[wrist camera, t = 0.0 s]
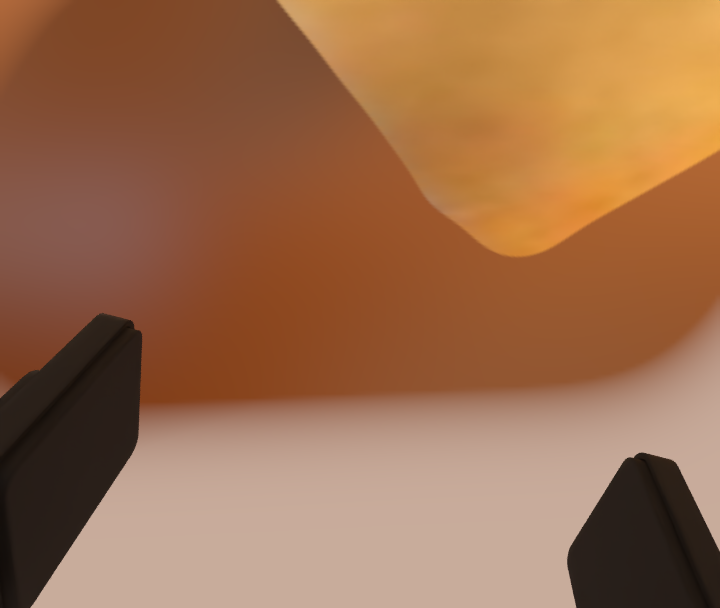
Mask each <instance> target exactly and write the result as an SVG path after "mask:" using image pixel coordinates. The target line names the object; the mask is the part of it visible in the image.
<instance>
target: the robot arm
mask: <svg viewBox="0 0 720 608" xmlns="http://www.w3.org/2000/svg"><path fill="white" fill-rule="evenodd" d="M141 350H142V334H141V332H140V331H138V330H135V329H134V324H133V322H132V321H131V320H127V319H123V318H119V317H115V316H111V315H107V314H104V313H102V314H99V315H97V316H96V317H95V318H94V319H93V320H92V321H91V322H90V323H89V324H88V325H87V326H86V327H85V328H83V329H82V330H81V331H80V332H79V333H78V334H77V335H76V336H75V337H74V338H73V339H72V340H71V341H70V342H69V343H68V344H67V345H66V346H65V347H64V348H63V349H62V350H61V351H60V352H58V353H57V354H56V356H54V357H53V358H52V359H51V360H50V361H49V362H48V363H47V364H46V365H45V366H44V367H43V368H42V369H41V370H40V371H39V370H35V371H31V372H29V373H28V374H26V375H25V376H24V377H22V379H20V381H18V382H17V383H16V384H15V385H14V386H13V387H12V388H11V389H10V390H9V391H8V392H7V393H6V394H4V395H3V396H2V397H1V398H0V608H30V607H31V606H32V605H33V603H34V602H35V600H36V599H37V597H38V596H39V594H40V593H41V591H42V590H43V588H44V587H45V585H46V584H47V582H48V581H49V579H50V578H51V576H52V574H53V573H54V571H55V570H56V568H57V567H58V565H59V564H60V562H61V561H62V559H63V558H64V556H65V555H66V553H67V552H68V550H69V549H70V547H71V546H72V544H73V542H74V541H75V540H76V538H77V536H78V535H79V534H80V532H81V531H82V529H83V528H84V526H85V525H86V523H87V521H88V520H89V518H90V517H91V515H92V514H93V512H94V511H95V509H96V508H97V506H98V505H99V503H100V502H101V500H102V499H103V497H104V496H105V494H106V493H107V491H108V490H109V488H110V487H111V485H112V483H113V482H114V481H115V479H116V477H117V476H118V474H119V473H120V471H121V470H122V468H123V467H124V465H125V464H126V462H127V461H128V459H129V458H130V456H131V455H132V453H133V451H134V449H135V446H136V443H137V440H138V430H139V404H140V403H139V402H140V378H141V353H142V351H141ZM567 565H568V570H569V575H570V579H571V585H572V589H573V594H574V599H575V603H576V608H720V551H719V549H718V547H717V545H716V543H715V541H714V539H713V537H712V535H711V533H710V531H709V529H708V527H707V525H706V523H705V521H704V519H703V517H702V515H701V513H700V510H699V508H698V506H697V504H696V502H695V500H694V498H693V496H692V494H691V492H690V490H689V488H688V486H687V484H686V482H685V480H684V478H683V476H682V474H681V472H680V470H679V467H678V466H677V464H676V463H675V462H674V461H672V460H670V459H666V458H662V457H658V456H654V455H650V454H646V453H638V454H637V455H636V456H635V457H634V458H627V459H625V461H624V462H623V463H622V465H621V467H620V468H619V470H618V471H617V473H616V474H615V476H614V478H613V479H612V481H611V483H610V484H609V486H608V487H607V489H606V490H605V492H604V494H603V495H602V497H601V499H600V500H599V502H598V503H597V505H596V507H595V508H594V510H593V511H592V513H591V515H590V516H589V518H588V519H587V521H586V523H585V524H584V526H583V527H582V529H581V531H580V532H579V534H578V535H577V537H576V539H575V540H574V542H573V543H572V545H571V547H570V549H569V552H568V559H567Z"/></svg>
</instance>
